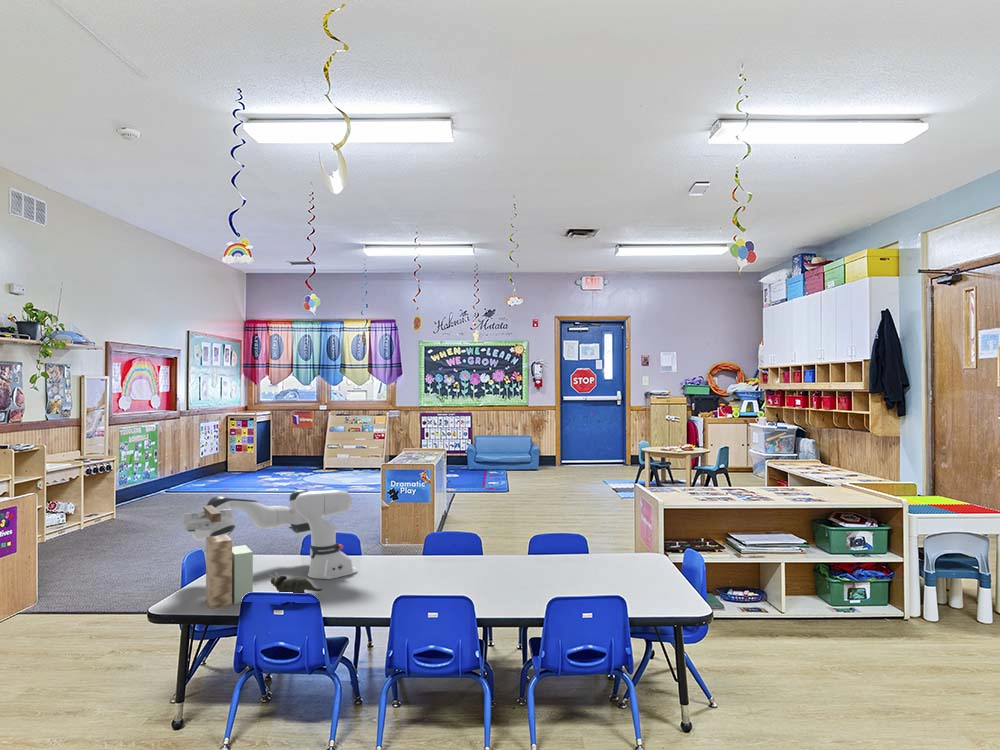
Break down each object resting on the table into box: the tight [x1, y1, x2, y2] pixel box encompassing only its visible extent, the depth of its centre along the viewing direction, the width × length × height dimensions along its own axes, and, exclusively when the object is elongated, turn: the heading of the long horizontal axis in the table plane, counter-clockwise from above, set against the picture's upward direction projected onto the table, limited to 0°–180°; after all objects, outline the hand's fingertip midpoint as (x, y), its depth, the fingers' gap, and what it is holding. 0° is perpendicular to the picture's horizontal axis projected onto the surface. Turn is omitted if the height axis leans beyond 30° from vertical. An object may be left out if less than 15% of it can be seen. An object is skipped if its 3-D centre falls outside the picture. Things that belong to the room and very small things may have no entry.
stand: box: [205, 535, 234, 610], centre depth 263 cm, size 8×11×26 cm
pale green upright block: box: [232, 544, 254, 605], centre depth 269 cm, size 7×14×20 cm, turn 33°
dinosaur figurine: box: [268, 571, 323, 594], centre depth 264 cm, size 22×8×11 cm, turn 90°
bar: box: [202, 505, 221, 523], centre depth 276 cm, size 4×22×4 cm, turn 33°
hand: (209, 510), depth 279 cm, fingers closed on bar, 3 cm apart
